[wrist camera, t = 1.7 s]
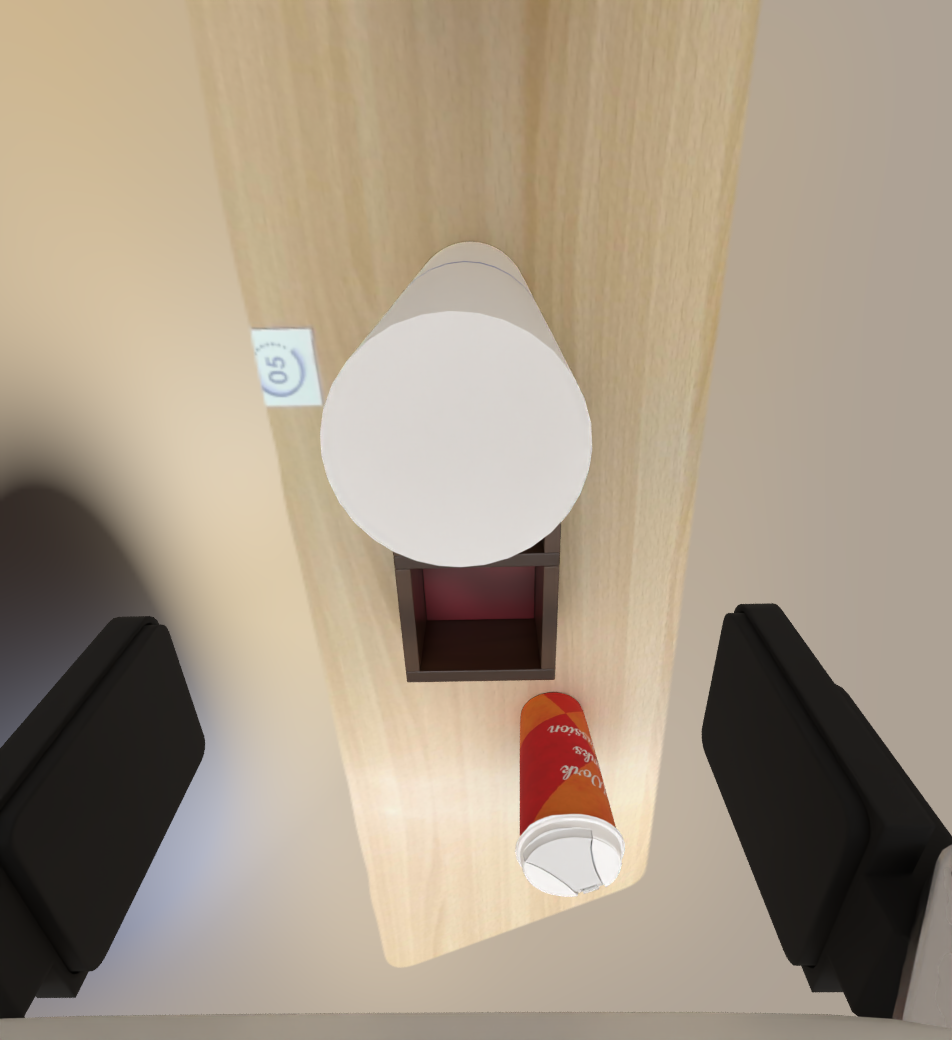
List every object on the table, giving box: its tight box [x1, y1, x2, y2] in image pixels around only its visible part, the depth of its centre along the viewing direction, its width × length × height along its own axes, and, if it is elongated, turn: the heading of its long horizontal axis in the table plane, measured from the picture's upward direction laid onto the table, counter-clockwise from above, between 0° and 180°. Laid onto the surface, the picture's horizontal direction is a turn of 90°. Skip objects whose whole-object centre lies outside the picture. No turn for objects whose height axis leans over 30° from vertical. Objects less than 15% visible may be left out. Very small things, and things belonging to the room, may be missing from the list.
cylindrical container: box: [320, 241, 592, 567], centre depth 27 cm, size 7×7×25 cm
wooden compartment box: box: [393, 522, 561, 682], centre depth 42 cm, size 20×10×7 cm, turn 2°
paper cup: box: [515, 692, 625, 897], centre depth 48 cm, size 8×8×14 cm
